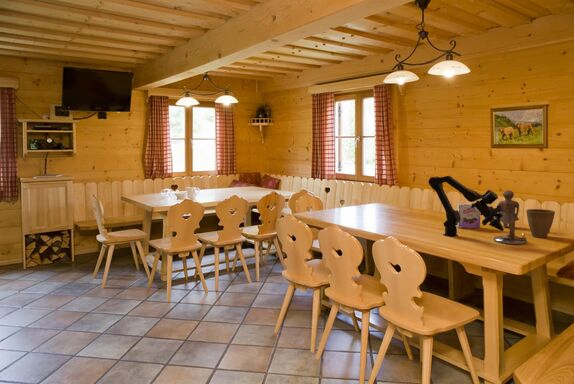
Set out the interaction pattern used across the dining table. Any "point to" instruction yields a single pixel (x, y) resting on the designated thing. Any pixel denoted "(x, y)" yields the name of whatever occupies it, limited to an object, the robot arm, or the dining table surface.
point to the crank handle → (512, 233)
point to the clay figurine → (509, 208)
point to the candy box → (468, 216)
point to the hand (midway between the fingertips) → (503, 230)
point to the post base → (508, 242)
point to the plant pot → (540, 221)
